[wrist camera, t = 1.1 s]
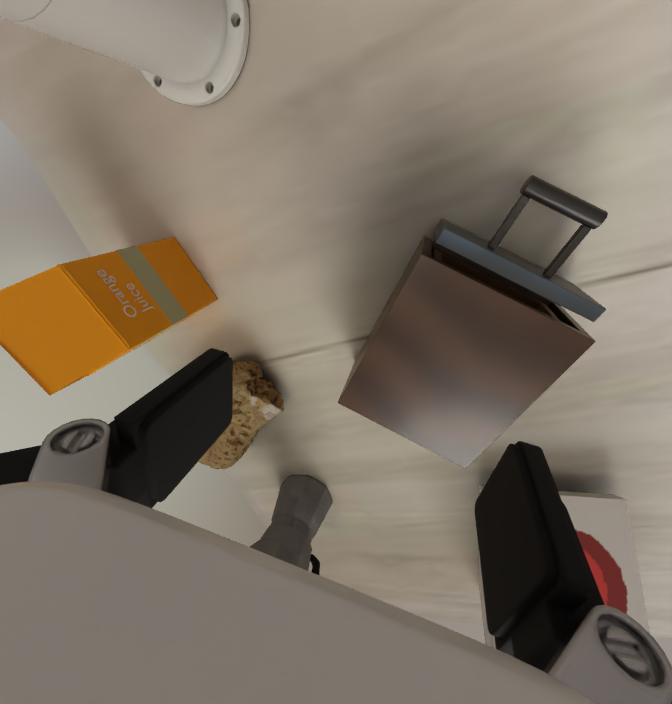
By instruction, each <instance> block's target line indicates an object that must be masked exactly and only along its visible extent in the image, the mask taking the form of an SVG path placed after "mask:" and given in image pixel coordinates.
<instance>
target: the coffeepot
mask: <svg viewBox="0 0 672 704" xmlns="http://www.w3.org/2000/svg"><path fill="white" fill-rule="evenodd" d="M331 504H332V499H331V496H330V493H329V491H328V489H327V488H326V487H325V486H324V485H323V484H322V483H321V482H319V481H318V480H316V479H314V478H312V477H309V476H305V475H294V476H288V478H287V479H286V480H285V482H284V483H283V485H282V486H281V488H280V492H279V495H278V499H277V502H276V506H275V509H274V513H273V516H272V523H271V525H270V526H269V527H268V529H267V530H266V532H265V533H264V534H263V536H262V537H261V539H260V540H259V541H257V542H256V543H254V544H253V545H252V546H250V548H253V549H255V550H258V551H260V552H263V553H265V554H268V555H270V556H273V557H275V558H277V559H280V560H282V561H285V562H287V563H290V564H292V565H295V566H297V567H300V568H302V569H305V570H307V571H308V568H309V562H310V561H311V563H312V566H313V568H312V573H314V574H317V575H319V569H320V562H319V560H318V559H317V558H316V557H315V556H314V555H313V554H311V551H312V548H311V545H310V543H311V540H312V539H313V537H314V536H315V535H316V533H317V531H318V529H319V527H320V525H321V523H322V522H323V520H324V518H325V516H326V514H327V512H328V510H329V508H330V506H331Z"/></svg>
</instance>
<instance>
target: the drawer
mask: <svg viewBox="0 0 672 704" xmlns="http://www.w3.org/2000/svg"><path fill="white" fill-rule="evenodd" d="M520 193H521V194H523V195H521V196H520V197H519V199H518V200H517V202H516V203H515V205H514V206H513V208H512V209H511V211H510V212H509V214H508V215H507V217H506V218H505V220H504V221H503V223H502V224H501V226H500V227H499V229H498V230H497V232H496V233H495V235H494V236H493V238H492V239H491V241H490V242H489V241H487V240H485V239H483V238H481V237H479V236H477V235H475V234H473V233H471V232H469V231H467V230H465V229H463V228H461V227H459V226H457V225H455V224H453V223H451V222H449V221H447V220H445V219H443V218H442V219H441V220H440V222H439V224H438V225H437V227H436V229H435V238H436V243H437V244H439V245H441V246H443V247H445V248H447V249H449V250H451V251H453V252H455V253H457V254H459V255H461V256H463V257H465V258H467V259H469V260H471V261H473V262H475V263H477V264H479V265H481V266H483V267H485V268H487V269H489V270H491V271H493V272H495V273H497V274H499V275H501V276H503V277H505V278H507V279H509V280H511V281H513V282H515V283H517V284H519V285H521V286H523V287H525V288H527V289H529V290H531V291H533V292H535V293H537V294H539V295H541V296H543V297H545V298H547V299H549V300H551V301H553V302H555V303H557V304H559V305H561V306H563V307H565V308H567V309H569V310H571V311H573V312H575V313H577V314H579V315H581V316H583V317H585V318H587V319H589V320H591V321H593V322H594V321H595V320H596V319H597V318H598V317H599V316H600V315H601V314H602V313H603V312H604V311H605V310H606V309H605V308H604V307H603V306H601V305H600V304H599V303H598V302H596V301H595V300H594V299H592V298H591V297H590V296H588V295H587V294H586V293H584V292H583V291H582V290H581V289H579V288H578V287H577V286H575V285H574V284H573V283H571V282H569V281H567V280H565V279H563V278H561V277H559V276H557V275H555V273H556V271H557V270H558V269H559V268H560V267H561V265H562V264H563V263H564V262H565V260H566V259H567V258H568V257H569V256H570V254H571V253H572V252H573V251H574V250H575V248H576V247H577V246H578V245H579V243H580V242H581V241H582V240H583V239H584V237H585V236H586V235H587V234H588V232H589V231H590V230H591V229H595V228H597V227H599V226H600V225H601V224H602V223H603V222H604V220H605V219H606V217H607V215H608V213H607V212H606V211H604V210H602V209H600V208H598V207H596V206H594V205H592V204H590V203H588V202H586V201H584V200H582V199H580V198H578V197H576V196H574V195H572V194H570V193H568V192H566V191H564V190H562V189H560V188H558V187H556V186H554V185H552V184H550V183H548V182H546V181H544V180H542V179H540V178H538V177H535V176H533V175H531V176H530V177H529V178H528V179H527V180H526V182H525V183H524V185H523V186H522V188H521V190H520ZM530 198H531V199H533V200H535V201H537V202H539V203H541V204H543V205H545V206H547V207H549V208H551V209H553V210H555V211H557V212H559V213H561V214H563V215H565V216H567V217H569V218H571V219H573V220H575V221H577V222H579V223H581V224H583V225H581V226H580V227H579V228H578V230H577V231H576V232H575V233H574V235H573V236H572V237H571V238H570V240H569V241H568V242H567V243H566V245H565V246H564V247H563V248H562V250H561V251H560V252H559V253H558V255H557V256H556V257H555V258H554V260H553V261H552V262H551V263H550V265H549V266H548V267H547V268H546V270H545V269H543V268H541V267H539V266H537V265H535V264H533V263H531V262H529V261H527V260H525V259H523V258H521V257H519V256H517V255H515V254H513V253H511V252H509V251H507V250H505V249H503V248H501V247H499V246H498V245H499V243H500V242H501V240H502V239H503V237H504V236H505V234H506V233H507V231H508V230H509V228H510V227H511V226H512V224H513V223H514V221H515V220H516V218H517V217H518V215H519V214H520V212H521V211H522V209H523V208H524V207H525V205H526V204H527V202H528V201H529V199H530ZM432 257H434V258H436V259H438V260H440V261H442V262H444V263H446V264H448V265H450V266H452V267H454V268H456V269H458V270H460V271H462V272H464V273H466V274H468V275H470V276H472V277H474V278H476V279H478V280H480V281H481V282H483V283H485V284H487V285H489V286H491V287H493V288H495V289H497V290H499V291H501V292H503V293H505V294H507V295H509V296H511V297H513V298H515V299H517V300H519V301H521V302H523V303H525V304H527V305H529V306H531V307H533V308H535V309H537V310H539V311H541V312H543V313H545V314H547V315H549V316H551V317H553V318H555V319H557V320H559V319H558V318H557V316H556V315H555V314H554V313H553V312H552V311H551V310H550V309H549V307H548V306H547V305H546V304H544V303H542V302H540V301H538V300H536V299H534V298H532V297H530V296H528V295H526V294H524V293H522V292H520V291H518V290H516V289H514V288H512V287H510V286H508V285H506V284H504V283H502V282H500V281H498V280H496V279H494V278H492V277H490V276H488V275H486V274H484V273H482V272H480V271H478V270H476V269H474V268H473V267H471V266H469V265H467V264H465V263H463V262H461V261H459V260H457V259H455V258H453V257H451V256H449V255H447V254H445V253H443V252H441V251H439V250H437V249H434V250H433V252H432ZM559 321H560V320H559Z"/></svg>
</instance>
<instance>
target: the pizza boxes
mask: <svg viewBox="0 0 672 704" xmlns="http://www.w3.org/2000/svg"><path fill="white" fill-rule="evenodd" d="M483 488H484V486H479V492H480V493H481V491H482V490H483ZM558 492H559V495H560V498H561V500H562V502H563V503H564V504H565V506H566V508H567V510H568V513H569V515H570V518H571V520H572V523H573V525H574V528H575V531H576V533H577V536H578V538H579V541H580V543H581V546H582V548H583V551H584V553H585V556H586V559H587V561H588V564H589V566H590V569H591V571H592V574H593V576H594V579H595V581H596V584H597V587H598V589H599V592H600V594H601V597H602V599H603V602H604V604H605V605H607V606H610V607H614V608H616V609H618V610H620V611H622V612H624V613H626V614H627V615H629V616H630V617H631V618H633V619H634V620H635V621H637V622H638V623H639V624H640V625H641V626H642V627H643V628H644V629H645V630H646V631H647V632H648V633H649V634H650V632H649V626H648V621H647V615H646V609H645V603H644V597H643V591H642V586H641V580H640V574H639V568H638V562H637V556H636V550H635V545H634V539H633V533H632V527H631V521H630V515H629V509H628V504H627V500H626V499H623V498H621V497H618V496H616V495H612V494H597V493H582V492H566V491H558ZM479 591H480V600H481V609H482V618H483V627H484V636H485V645H488V646H490V647H492V648H495V649H496V646H495V638H494V636H493V635H491V634H490V633H489V631H488V627H487V619H486V610H485V600H484V591H483V582H482V573H481V564H480V554H479Z"/></svg>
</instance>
